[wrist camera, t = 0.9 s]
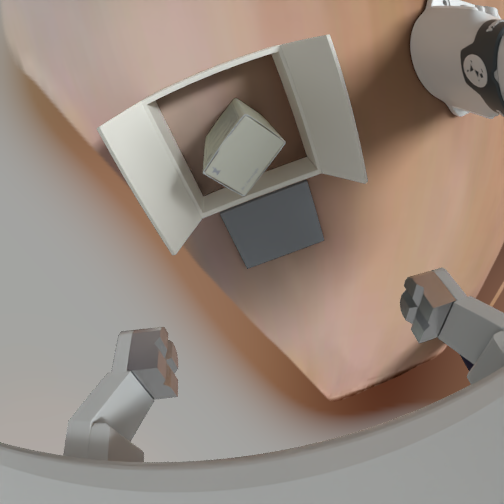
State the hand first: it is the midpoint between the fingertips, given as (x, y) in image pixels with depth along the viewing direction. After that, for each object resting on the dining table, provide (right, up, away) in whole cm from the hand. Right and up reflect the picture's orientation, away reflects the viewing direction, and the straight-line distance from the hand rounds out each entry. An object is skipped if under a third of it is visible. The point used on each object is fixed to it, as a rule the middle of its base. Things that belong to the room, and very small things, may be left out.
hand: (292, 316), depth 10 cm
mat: (+2, +6, +33) cm, 34 cm away
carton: (-3, +17, +24) cm, 30 cm away
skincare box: (-3, +17, +24) cm, 30 cm away
